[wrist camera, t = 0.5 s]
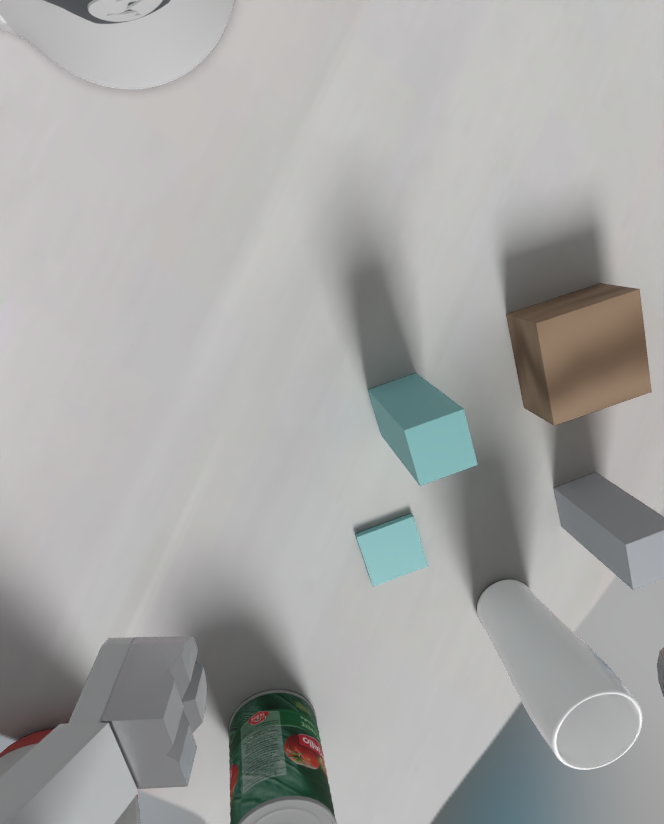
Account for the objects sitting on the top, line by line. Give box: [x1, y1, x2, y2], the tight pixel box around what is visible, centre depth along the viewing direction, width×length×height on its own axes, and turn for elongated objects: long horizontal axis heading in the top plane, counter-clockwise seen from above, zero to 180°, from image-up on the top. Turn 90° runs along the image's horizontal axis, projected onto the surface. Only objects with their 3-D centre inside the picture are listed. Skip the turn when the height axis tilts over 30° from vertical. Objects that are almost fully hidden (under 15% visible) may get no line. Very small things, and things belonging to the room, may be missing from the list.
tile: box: [355, 514, 428, 586], centre depth 51 cm, size 5×5×1 cm
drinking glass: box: [477, 579, 642, 770], centre depth 48 cm, size 7×7×15 cm
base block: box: [506, 283, 652, 426], centre depth 47 cm, size 8×8×5 cm
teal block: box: [368, 373, 478, 486], centre depth 43 cm, size 4×4×10 cm
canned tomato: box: [229, 690, 337, 824], centre depth 50 cm, size 8×8×11 cm
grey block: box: [554, 472, 664, 590], centre depth 49 cm, size 4×4×10 cm
